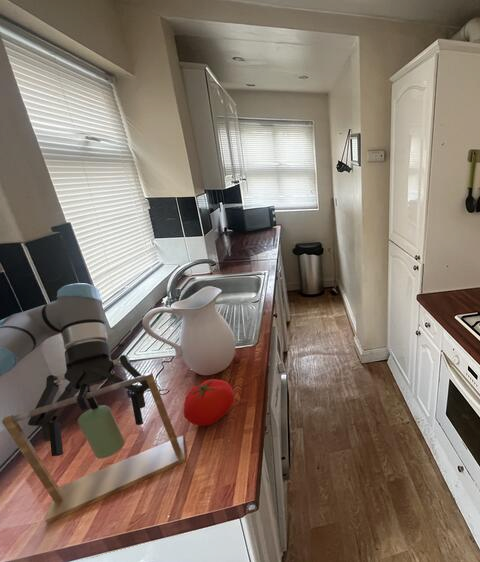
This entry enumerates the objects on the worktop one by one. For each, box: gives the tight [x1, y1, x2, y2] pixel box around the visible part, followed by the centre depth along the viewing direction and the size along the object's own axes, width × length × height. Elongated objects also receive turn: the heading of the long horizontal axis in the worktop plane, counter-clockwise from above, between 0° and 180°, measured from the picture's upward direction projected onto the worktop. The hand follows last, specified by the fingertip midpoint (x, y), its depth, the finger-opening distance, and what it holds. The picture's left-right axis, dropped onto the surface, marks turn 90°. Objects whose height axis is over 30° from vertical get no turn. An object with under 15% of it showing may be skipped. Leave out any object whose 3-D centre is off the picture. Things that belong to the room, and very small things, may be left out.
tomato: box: [183, 378, 235, 427], centre depth 86 cm, size 13×12×11 cm
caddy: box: [76, 383, 126, 459], centre depth 66 cm, size 5×5×16 cm
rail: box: [1, 371, 187, 525], centre depth 68 cm, size 25×8×25 cm, turn 123°
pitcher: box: [142, 285, 236, 376], centre depth 103 cm, size 24×17×28 cm
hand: (100, 439), depth 65 cm, fingers open, 13 cm apart
